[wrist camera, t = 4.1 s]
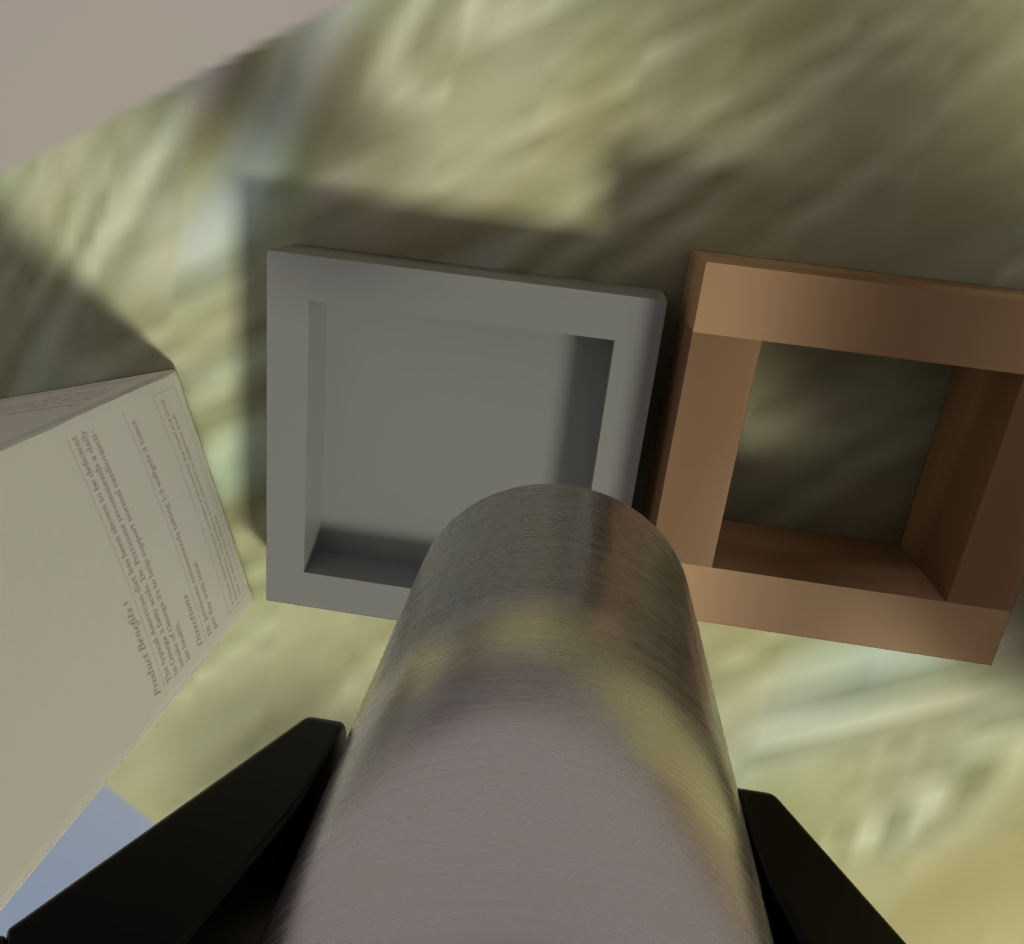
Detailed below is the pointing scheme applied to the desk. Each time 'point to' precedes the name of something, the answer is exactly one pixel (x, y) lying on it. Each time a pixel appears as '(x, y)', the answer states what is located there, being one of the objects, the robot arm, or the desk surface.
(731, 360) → the socket block
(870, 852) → the desk surface
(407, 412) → the tray
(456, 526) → the grey and red cylinder
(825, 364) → the desk surface
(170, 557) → the supplement box
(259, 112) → the desk surface
